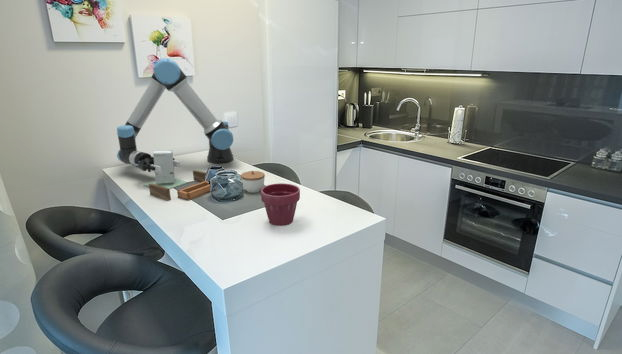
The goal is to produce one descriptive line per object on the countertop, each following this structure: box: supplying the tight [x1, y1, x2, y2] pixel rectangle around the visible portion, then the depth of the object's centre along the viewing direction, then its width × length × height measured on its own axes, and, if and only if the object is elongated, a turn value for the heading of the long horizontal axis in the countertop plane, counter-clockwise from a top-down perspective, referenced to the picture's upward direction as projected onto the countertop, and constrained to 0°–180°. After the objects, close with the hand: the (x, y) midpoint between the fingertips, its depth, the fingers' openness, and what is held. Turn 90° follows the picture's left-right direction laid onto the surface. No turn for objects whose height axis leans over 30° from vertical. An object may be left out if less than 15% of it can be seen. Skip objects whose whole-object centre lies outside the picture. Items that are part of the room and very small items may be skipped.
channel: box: [148, 169, 207, 201], centre depth 161 cm, size 26×12×5 cm, turn 148°
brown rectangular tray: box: [176, 181, 211, 201], centre depth 157 cm, size 16×6×3 cm, turn 148°
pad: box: [144, 178, 189, 190], centre depth 168 cm, size 14×14×1 cm
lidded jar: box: [240, 170, 266, 193], centre depth 160 cm, size 11×11×9 cm
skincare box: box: [152, 150, 176, 184], centre depth 165 cm, size 8×6×15 cm
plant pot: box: [260, 183, 301, 227], centre depth 129 cm, size 14×14×13 cm
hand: (170, 166), depth 163 cm, fingers closed on skincare box, 9 cm apart
